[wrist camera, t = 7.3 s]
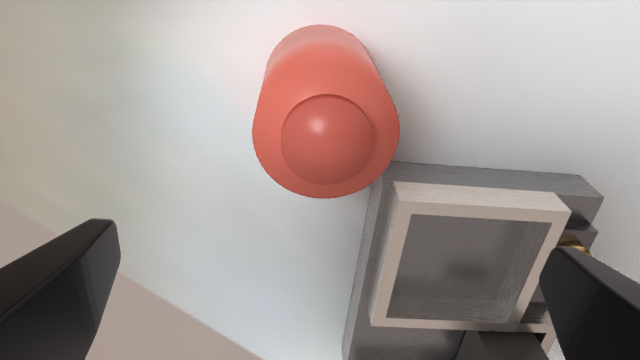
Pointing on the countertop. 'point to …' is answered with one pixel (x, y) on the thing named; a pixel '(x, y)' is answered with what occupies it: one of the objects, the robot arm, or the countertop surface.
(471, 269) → the breaker panel
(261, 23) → the countertop surface
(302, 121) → the cap
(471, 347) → the block
